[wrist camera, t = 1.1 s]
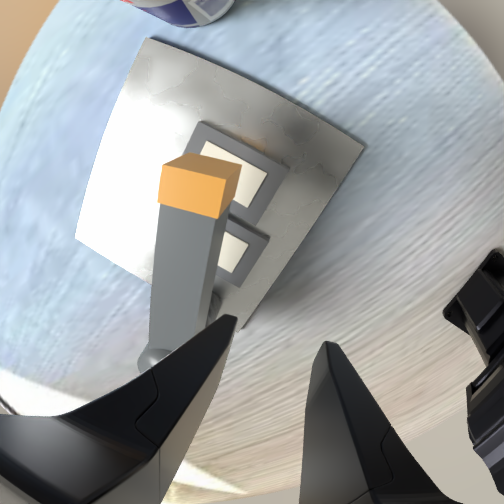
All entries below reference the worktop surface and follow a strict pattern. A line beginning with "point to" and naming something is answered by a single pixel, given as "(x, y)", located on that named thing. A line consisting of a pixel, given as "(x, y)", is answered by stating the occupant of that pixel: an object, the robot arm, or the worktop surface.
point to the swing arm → (187, 249)
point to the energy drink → (184, 10)
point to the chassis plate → (173, 145)
